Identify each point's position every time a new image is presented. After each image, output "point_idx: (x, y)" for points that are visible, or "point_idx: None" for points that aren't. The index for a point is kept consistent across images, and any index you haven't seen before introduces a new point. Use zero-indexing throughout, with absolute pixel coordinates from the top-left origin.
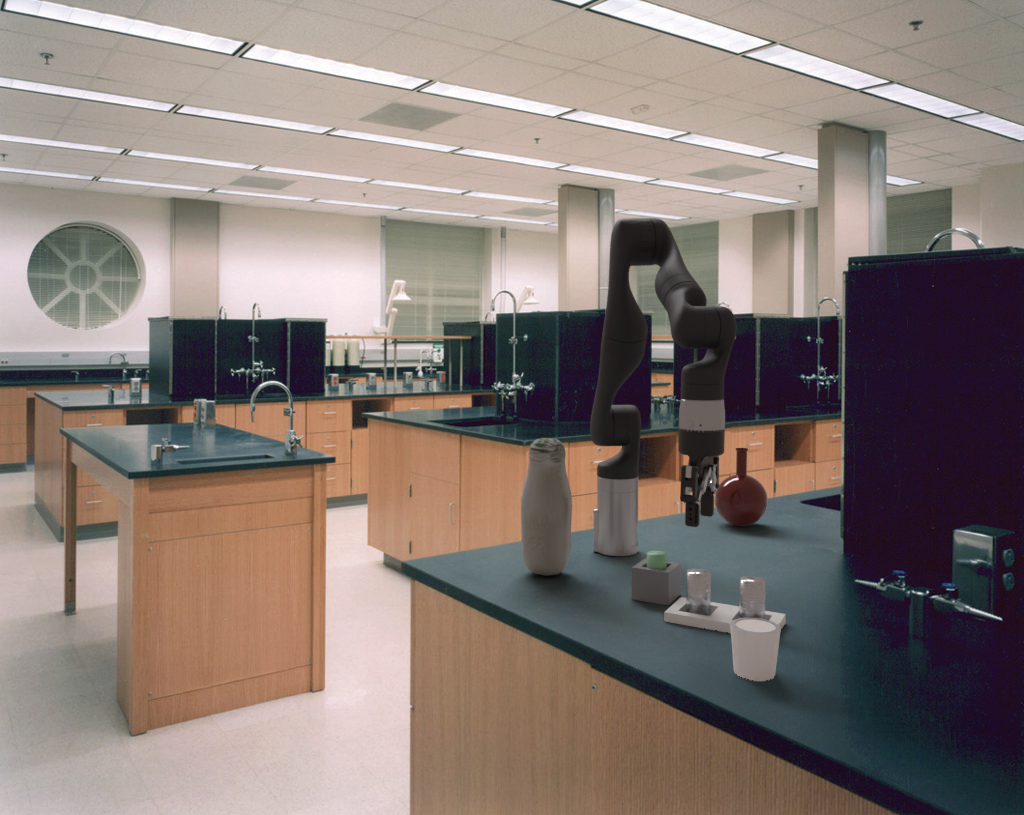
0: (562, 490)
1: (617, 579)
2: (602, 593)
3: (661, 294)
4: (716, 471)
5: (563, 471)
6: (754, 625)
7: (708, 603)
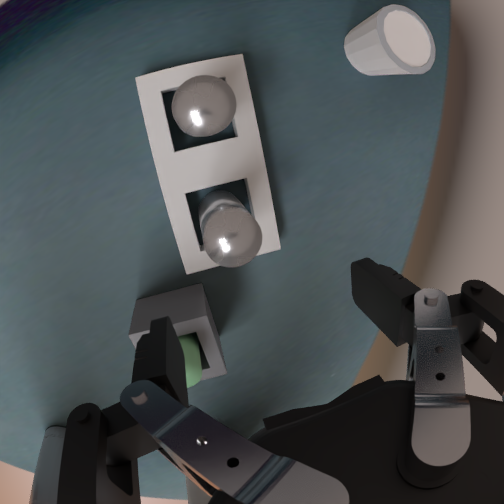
0: None
1: None
2: (227, 375)
3: None
4: (97, 496)
5: None
6: (407, 39)
7: (225, 196)
